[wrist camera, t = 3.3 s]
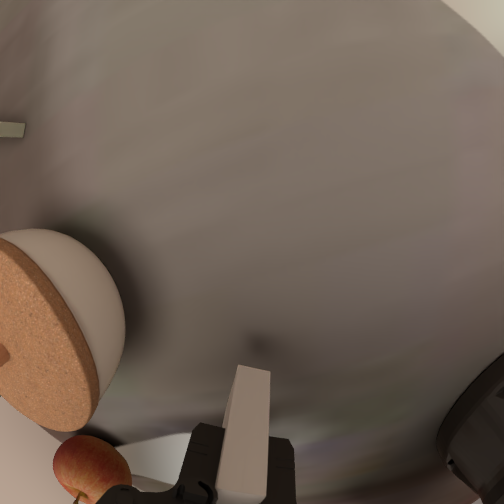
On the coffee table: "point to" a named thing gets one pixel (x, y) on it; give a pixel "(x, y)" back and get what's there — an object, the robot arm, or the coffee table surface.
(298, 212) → the coffee table surface
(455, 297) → the coffee table surface
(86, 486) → the apple
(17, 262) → the lidded jar
